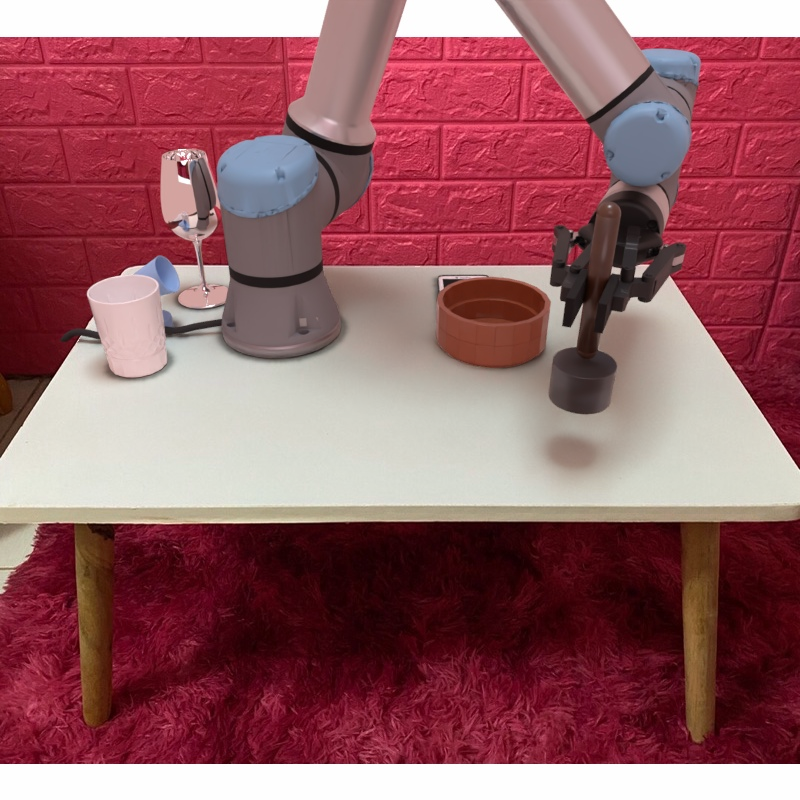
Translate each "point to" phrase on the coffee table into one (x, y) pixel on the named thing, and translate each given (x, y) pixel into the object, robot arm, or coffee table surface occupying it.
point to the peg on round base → (589, 332)
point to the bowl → (492, 321)
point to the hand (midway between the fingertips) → (584, 315)
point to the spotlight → (162, 280)
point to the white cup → (130, 324)
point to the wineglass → (192, 214)
